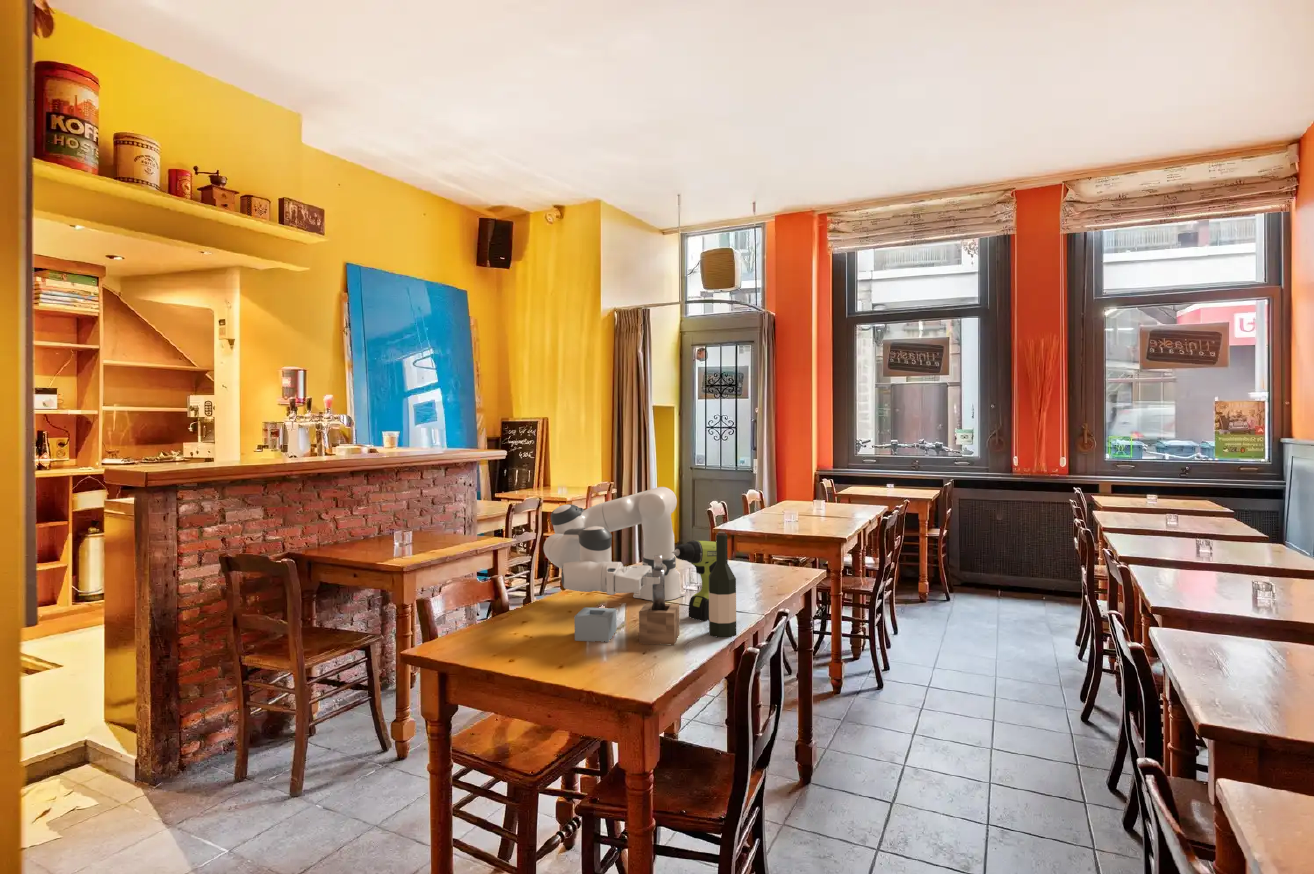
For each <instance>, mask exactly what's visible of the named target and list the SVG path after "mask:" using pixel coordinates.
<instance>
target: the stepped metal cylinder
mask: <svg viewBox="0 0 1314 874" xmlns="http://www.w3.org/2000/svg"><path fill="white" fill-rule="evenodd" d="M652 577H660V578H661V582H660V583H659V584H652V597H653V600H652V603H653V610H660V611H665V604H666V600H665V570H664V569H662V556H661V555H655V556H654V569H653V570H652Z"/></svg>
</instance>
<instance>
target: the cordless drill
mask: <svg viewBox="0 0 1314 874" xmlns="http://www.w3.org/2000/svg"><path fill="white" fill-rule="evenodd" d="M672 553H674V556H675V557H676V560H677V559H678V560H681V561H686V562H688V563H690V564H692V565H693V567H695V570H696V571H695V572H696V574H699V576H700V578H701V589H700V590H699V592H697V593H694V594H693V595H692V596H691V597H690V600H689V603H688V618H690V617H691V618H690V619H692V618H694V619H693V620H696V619H697V621H700V620H701V621H700V622H707V620H708V621H709V575H710V573H711V571H712V570H713V568H714V566H715V565H716V541H709V540H691V541H690V540H689V541H687V542H686V543H682V544H678V545H676V547H674V551H673V552H672Z"/></svg>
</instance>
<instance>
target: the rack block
mask: <svg viewBox="0 0 1314 874" xmlns="http://www.w3.org/2000/svg"><path fill="white" fill-rule="evenodd" d="M638 629H639V630H638V632H639V633H638V636H639V639H638V642H639V643H643V644H644V645H659V644H671V645H670V646H675V645H674V644H676V643H677V640H678V639H677V638H679V637H678V636H680V604H678V603H665V611H660V610H653V602H645V603H644V605H643V606H642V607H641V608H640V610H639V611H638ZM643 644H642V645H643Z"/></svg>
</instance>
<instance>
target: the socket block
mask: <svg viewBox="0 0 1314 874" xmlns="http://www.w3.org/2000/svg"><path fill="white" fill-rule="evenodd" d="M617 612H618V611H617V608H611V607H610V608H609V607H608V608H607V607H586V606H585V607H583V608H582V609H581V610H580V611H578V613H576V614H575V615H574V641H575V642H576V641H578V642H595V641H601V643H609V642H610V641H611V640H612V638H613V637H614V636H615V635H614V633H615V632H616V630H618V627H617V626H618V625H617V624H618V623H617V622H618V619H617ZM616 633H617V632H616ZM616 633H615V634H616ZM613 635H614V636H613ZM612 636H613V637H612ZM610 639H611V640H610ZM609 640H610V641H609ZM604 641H605V642H604Z"/></svg>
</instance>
